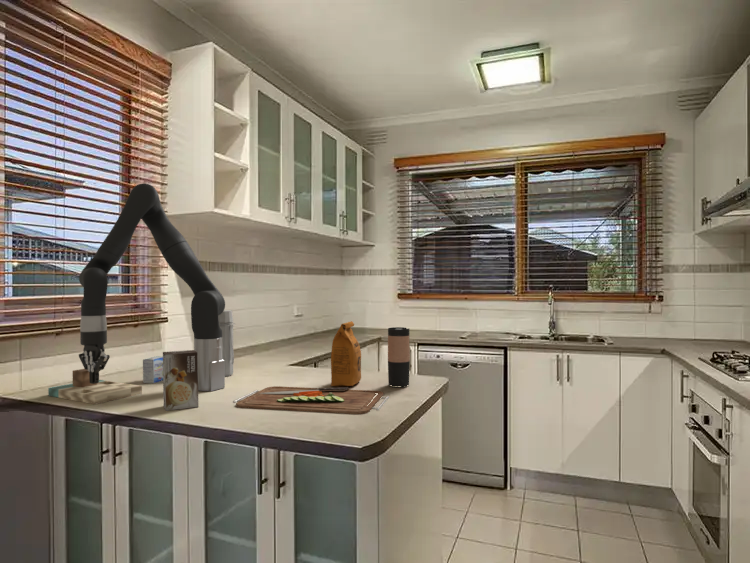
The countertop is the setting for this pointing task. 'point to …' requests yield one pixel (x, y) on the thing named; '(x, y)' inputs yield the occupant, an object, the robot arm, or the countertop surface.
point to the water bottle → (227, 340)
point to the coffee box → (180, 379)
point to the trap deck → (95, 392)
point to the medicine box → (153, 369)
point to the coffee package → (345, 357)
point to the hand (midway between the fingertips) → (94, 383)
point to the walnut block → (81, 378)
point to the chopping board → (312, 400)
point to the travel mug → (398, 356)
